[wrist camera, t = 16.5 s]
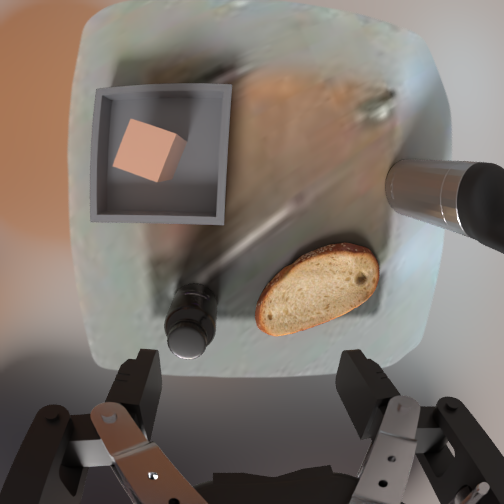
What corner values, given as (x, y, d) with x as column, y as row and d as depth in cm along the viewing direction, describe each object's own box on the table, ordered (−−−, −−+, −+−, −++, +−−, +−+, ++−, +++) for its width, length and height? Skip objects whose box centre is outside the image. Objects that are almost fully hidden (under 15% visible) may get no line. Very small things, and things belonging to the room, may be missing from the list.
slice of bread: (248, 328, 49) (249, 340, 46) (283, 221, 45) (288, 225, 42) (344, 346, 52) (351, 358, 49) (384, 252, 48) (395, 259, 44)
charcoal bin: (231, 93, 39) (232, 84, 34) (223, 218, 44) (223, 225, 39) (108, 96, 37) (96, 88, 33) (103, 216, 42) (90, 222, 37)
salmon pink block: (151, 129, 39) (130, 118, 29) (187, 141, 40) (176, 133, 30) (136, 166, 40) (112, 166, 30) (172, 179, 41) (157, 182, 31)
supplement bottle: (205, 274, 46) (200, 310, 34) (224, 312, 48) (225, 355, 36) (165, 292, 46) (148, 330, 34) (185, 328, 48) (176, 373, 36)
